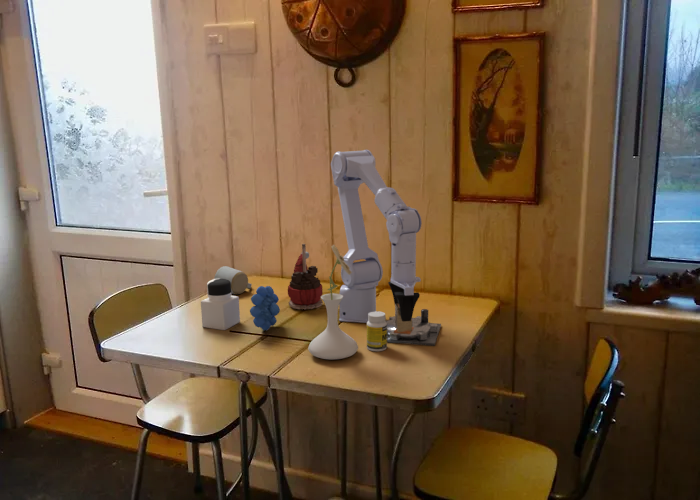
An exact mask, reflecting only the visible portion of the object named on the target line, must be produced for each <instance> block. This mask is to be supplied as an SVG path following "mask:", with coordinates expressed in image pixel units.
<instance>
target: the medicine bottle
mask: <svg viewBox="0 0 700 500" xmlns="http://www.w3.org/2000/svg"><path fill="white" fill-rule="evenodd" d="M206 290H207V298H205V299H202V300H200V309H201V312H200V313H201V324H202V325H201V326H202V327H203V328H208V329H214V330H219V331H226V330H228V329H230V328H231V327H234V326H235V325H237V324H239V323H240V322H241V316H240V315H241V314H240V297H239V296H236V295H232V293H231V282H230V281H229V280H227V279H214V278H213V279H211V280H209V281H208V282H207V283H206Z"/></svg>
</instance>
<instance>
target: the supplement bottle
mask: <svg viewBox="0 0 700 500" xmlns="http://www.w3.org/2000/svg"><path fill="white" fill-rule="evenodd" d="M386 318H387V317H386V313H385V312H383V311H377V310H376V311H375V312H370V313H369V314H368V320H369V321H368V322H367V323H366V348H367V350H369V351H371V352H383V351H385V350H386V349H387V348H388V342H387V322H386V321H385V320H387V319H386Z"/></svg>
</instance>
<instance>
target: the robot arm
mask: <svg viewBox="0 0 700 500" xmlns="http://www.w3.org/2000/svg"><path fill="white" fill-rule="evenodd" d="M330 168H331V175H332V179H333V185H334V186H336V187H337V192H338V197H339V203H340V208H341V214H342V219H343V226H344V230H345V237H346V242H347V248H348V250H347V252H346V254H345V255H343V258H344V262H345V263H346V264H347V265H348V266H349V268H350V269H349V270H350V271H351V272H352V273H351V274H350V275H349V274H348V273H347V272H346V271H345V270H344V268H343V267H342V265H341V264H340V266H341V269H340V276H341V280H342V282H343V284H342V285H341V286H340V289H339V294H340V295H343V298H342V300H341V301H340V304H339V307H338V311H339V318H338V321H339V322H348V323H361V324H362V323H364V324H365V323H366V324H367V322H368V321H369V320H368V314H369V313H370V312H375V311H377V286H379V283H380V281H381V280H382V278H383V274H384V270H383V266H382V264H381V262H380V259H379V255H378V253H377V252H376V251H374V250H372V248H370V247H369V244H368V243H369V242H368V239H367V238H368V237H367V231H366V227H365V222H364V215H363V211H362V204H361V200H360V194H359V193H360V192H359V188H360V186H361V185H362V184H363V183H364V185H366V187H368V188H369V190H370V191H371V193H372V194H373V195H374V204H375V206H377V208H378V209H379V211H380V212H381V214H382V215H383V217H384V218H385V219H386V222H385V224H386V229H387V232H388V239H389V242H390V243H391V253H390V254H391V255H390V256H391V271H390V272H391V275H390V276H391V277H390V281H388V282H387V284H388V286H389V287H390V290H391V294H392V297H393V304H394V305H395V304H397V303H399V308H400V315H401V319H402V321H411V319H412V318H413V315H414V310H415V307H416V303H417V302H418V299H419V298H420V296H421V295H420V293H419V292H415V289H414V287H415V286H416V283H420V282H421V281H422V280H421V278H420V276H416V275H417V274H416V273H417V272H416V271H417V270H416V269H417V267H416V264H417V250H416V249H417V233H418V232H420V230H421V229H422V216H421V214H420V213H419V210H418V209H416V208H415V207H414V208H412V207H411V206H409V205H407V204H406V203H405V202H404V200H403V198H402V197H401V195H399V193H398V192H397V190H396V189H395V188H393V187H389V186H387V185H386V183H385V181H384V179H383V178H382V176H381V175H380V173H379V171H378V170H377V167H376V158H375V156H374V154H373V153H372V151H371V150H369V149H363V150H350V151H336V152H334V154H333V156H332V159H331V162H330ZM361 260H362V261H361Z"/></svg>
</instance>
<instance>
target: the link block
mask: <svg viewBox="0 0 700 500" xmlns="http://www.w3.org/2000/svg"><path fill="white" fill-rule="evenodd" d="M394 316H395V328H396V330H397V332H411V331H412V319H411V321H402V319H401V315H400V308H399V303H397V304H394Z"/></svg>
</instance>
